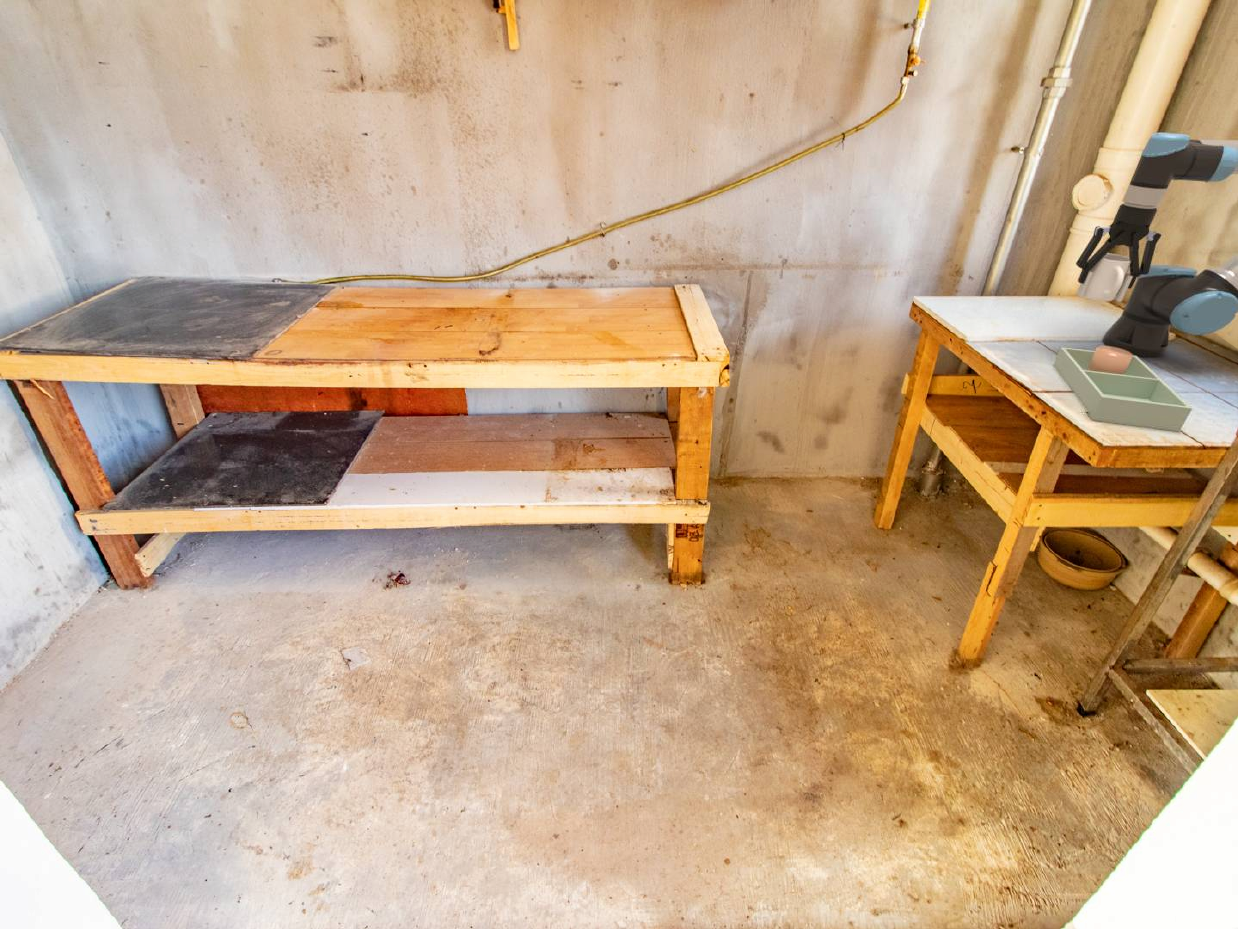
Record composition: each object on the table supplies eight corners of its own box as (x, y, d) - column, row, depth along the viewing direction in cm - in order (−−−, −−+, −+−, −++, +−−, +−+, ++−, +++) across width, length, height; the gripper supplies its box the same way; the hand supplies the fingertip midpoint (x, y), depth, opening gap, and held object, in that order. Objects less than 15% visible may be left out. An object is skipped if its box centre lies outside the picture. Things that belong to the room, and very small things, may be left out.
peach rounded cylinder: (1111, 377, 167) (1125, 348, 162) (1123, 389, 160) (1138, 359, 156) (1079, 373, 168) (1092, 344, 164) (1089, 385, 162) (1102, 355, 158)
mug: (1127, 308, 163) (1146, 266, 157) (1091, 305, 164) (1109, 263, 158) (1105, 293, 173) (1122, 254, 167) (1071, 290, 174) (1088, 251, 168)
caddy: (1126, 376, 169) (1136, 355, 166) (1179, 431, 144) (1192, 408, 141) (1052, 367, 173) (1060, 347, 170) (1091, 419, 148) (1102, 397, 145)
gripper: (1183, 206, 157) (1138, 298, 169) (1085, 198, 161) (1049, 288, 173) (1196, 212, 151) (1149, 307, 163) (1095, 203, 155) (1057, 297, 167)
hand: (1098, 297), depth 168 cm, fingers closed on mug, 8 cm apart
